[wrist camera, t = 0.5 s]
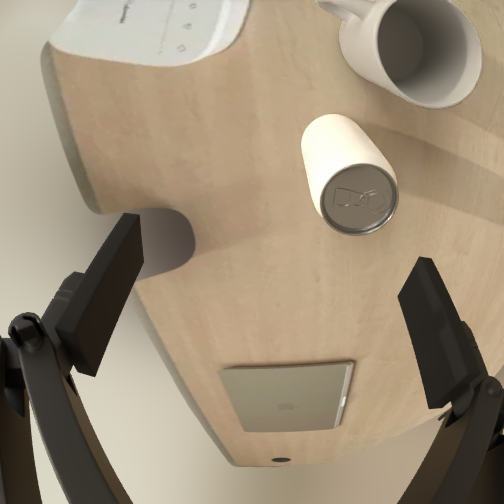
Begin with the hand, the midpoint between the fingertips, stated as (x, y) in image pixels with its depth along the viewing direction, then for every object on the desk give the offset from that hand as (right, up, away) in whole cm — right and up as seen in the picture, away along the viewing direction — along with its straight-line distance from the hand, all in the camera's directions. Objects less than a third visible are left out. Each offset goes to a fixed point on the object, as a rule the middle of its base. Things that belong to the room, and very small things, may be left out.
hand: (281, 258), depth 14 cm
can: (+7, +11, +16) cm, 20 cm away
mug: (+9, +20, +8) cm, 24 cm away
